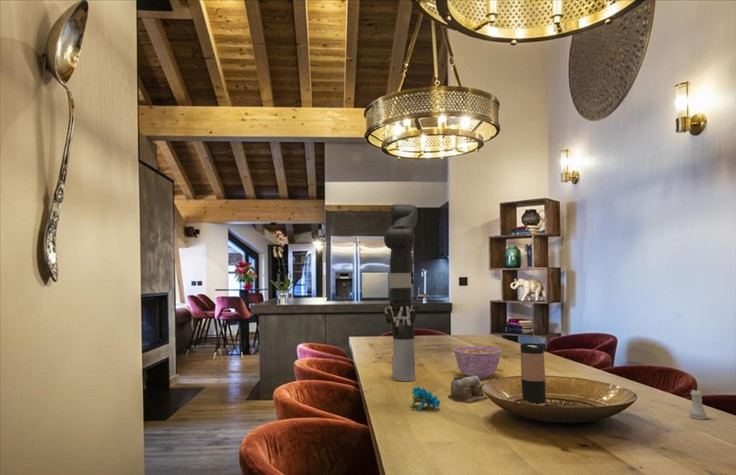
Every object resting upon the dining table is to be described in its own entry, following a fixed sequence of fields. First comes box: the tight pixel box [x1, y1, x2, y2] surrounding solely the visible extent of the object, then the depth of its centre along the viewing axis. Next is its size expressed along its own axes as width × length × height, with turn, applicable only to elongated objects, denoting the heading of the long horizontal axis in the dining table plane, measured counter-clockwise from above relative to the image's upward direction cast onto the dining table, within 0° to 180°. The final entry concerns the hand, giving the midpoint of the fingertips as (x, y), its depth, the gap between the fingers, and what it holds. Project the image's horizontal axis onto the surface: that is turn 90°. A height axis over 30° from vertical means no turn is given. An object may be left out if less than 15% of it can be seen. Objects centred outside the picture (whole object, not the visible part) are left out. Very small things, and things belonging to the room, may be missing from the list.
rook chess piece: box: [688, 389, 708, 421], centre depth 143 cm, size 4×4×8 cm
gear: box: [410, 386, 441, 412], centre depth 156 cm, size 11×6×10 cm
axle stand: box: [447, 375, 489, 404], centre depth 169 cm, size 12×10×8 cm
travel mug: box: [520, 342, 546, 404], centre depth 160 cm, size 8×8×20 cm
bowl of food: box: [453, 346, 501, 380], centre depth 205 cm, size 20×20×12 cm
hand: (401, 336), depth 161 cm, fingers open, 4 cm apart
